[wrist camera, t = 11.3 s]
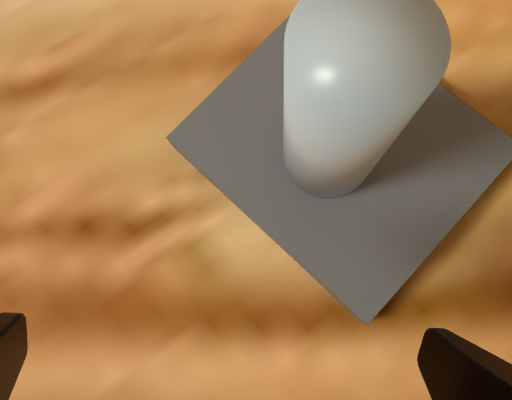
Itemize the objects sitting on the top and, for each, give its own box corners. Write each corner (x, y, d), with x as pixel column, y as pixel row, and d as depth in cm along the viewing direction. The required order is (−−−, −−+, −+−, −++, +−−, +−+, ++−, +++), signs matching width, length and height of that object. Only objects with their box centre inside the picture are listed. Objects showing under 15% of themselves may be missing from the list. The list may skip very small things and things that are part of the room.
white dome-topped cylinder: (388, 171, 20) (485, 65, 11) (311, 215, 20) (339, 148, 10) (340, 101, 21) (389, -55, 12) (267, 142, 21) (254, 18, 11)
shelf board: (507, 155, 22) (523, 146, 20) (361, 322, 20) (367, 325, 19) (313, 8, 24) (315, -10, 23) (173, 146, 23) (165, 137, 21)
